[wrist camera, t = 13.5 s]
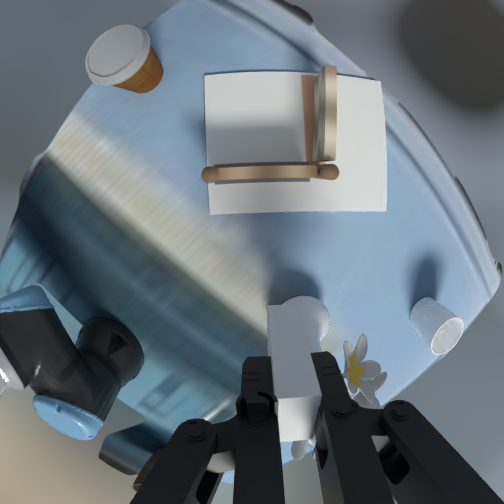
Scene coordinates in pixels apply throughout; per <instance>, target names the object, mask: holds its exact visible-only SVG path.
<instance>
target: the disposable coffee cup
mask: <svg viewBox="0 0 504 504" xmlns="http://www.w3.org/2000/svg"><path fill="white" fill-rule="evenodd" d="M85 67H86V71H87V73H88V75H89V78H90V79H91V80H92V81H93V82H94V83H96V84H98V85H101V86H110V85H111V86H115V87H119V88H123V89H126V90H130V91H133V92H136V93H145V92H148V91H150V90H152V89H154V88H155V87H156V86H157V85H158V84H159V82H160V81H161V79H162V76H163V68H162V66H161V64H160V62H159V60H158V58H157V56H156V54H155V52H154V50H153V48H152V46H151V45H150V38H149V35H148V33H147V32H146V30H144V29H143V28H141V27H139V26H135V25H129V24H124V25H118V26H115V27H113V28H111V29H109V30H107V31H106V32H104V33H103V34H102V35H100V36H99V37H98V38H97V39H96V40H95V42H94V43H93V44H92V46H91V48H90V49H89V51H88V53H87V56H86V61H85Z"/></svg>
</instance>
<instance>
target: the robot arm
mask: <svg viewBox="0 0 504 504" xmlns="http://www.w3.org/2000/svg"><path fill="white" fill-rule="evenodd" d="M267 322H268V356H262V357H247V359H246V360H245V362H244V363H243V364H242V382H241V395H240V396H239V397H238V398H237V401H236V409H237V414H236V415H235V416H234V417H233V418H231V419H230V420H228V421H225V422H221V423H217V424H211V423H210V422H208V421H206V420H204V419H196V418H195V419H190V420H187V421H185V422H183V423H181V424H180V425H179V426H178V428H177V429H176V431H175V432H174V434H173V436H172V437H171V439H170V441H169V442H168V444H167V445H166V447H165V449H164V450H163V452H162V453H161V455H160V457H159V458H158V460H157V462H156V463H155V465H154V466H153V468H152V469H151V471H150V473H149V474H148V476H147V477H146V479H145V481H144V482H143V484H142V485H141V487H140V488H139V490H138V491H137V493H136V495H135V496H134V498H133V499H132V501H131V502H130V504H211V502H212V499H213V497H214V495H215V492H216V490H217V488H218V485H219V483H220V481H221V479H222V476H223V474H224V472H226V471H230V470H235V475H234V493H233V504H285V496H284V483H283V471H282V458H281V446H280V442H287V441H298V440H308V439H313V436H314V434H315V439H316V444H315V448H314V452H313V458H312V459H315V457H316V461H317V466H318V472H319V477H320V484H321V490H322V496H323V502H324V504H395V503H394V500H393V497H394V499H395V500H396V501H397V503H398V504H504V502H503V501H502V500H501V499H500V498H499V496H498V495H497V494H496V493H495V492H494V491H493V490H492V489H491V488H490V487H489V486H488V484H487V483H486V482H485V481H484V480H483V479H482V478H481V477H480V476H479V475H478V474H477V472H476V471H475V470H474V469H473V468H472V467H471V466H470V465H469V464H468V463H467V462H466V461H465V460H464V458H463V457H462V456H461V455H460V454H459V453H458V452H457V451H456V450H455V449H454V448H453V447H452V446H451V445H450V444H449V443H448V441H446V439H445V438H444V437H443V436H442V435H441V434H440V433H439V432H438V431H437V430H436V429H435V428H434V427H433V426H432V425H431V423H430V422H429V421H428V420H427V419H426V418H425V417H424V416H423V415H422V414H421V413H420V412H419V411H418V410H417V409H416V408H415V407H414V406H413V405H412V404H411V403H409V402H407V401H403V400H395V401H392V402H389V403H388V404H387V405H386V406H385V407H384V409H370V408H364V407H361V406H359V404H358V403H357V402H356V401H354V400H353V399H351V397H350V395H349V392H348V390H347V387H346V384H345V382H344V379H343V377H342V374H341V371H340V369H339V367H338V364H337V361H336V359H335V357H334V356H333V355H331V354H330V353H329V352H328V351H325V352H315V353H310V350H309V347H308V343H307V340H306V336H305V333H304V330H303V326H302V323H301V319H300V316H299V313H298V309H297V306H296V304H287V305H267ZM143 364H144V354H143V351H142V348H141V346H140V344H139V342H138V341H137V339H136V338H135V337H134V335H133V334H132V333H131V332H130V331H129V330H128V329H126V328H125V327H124V326H122V325H121V324H119V323H117V322H116V321H113V320H111V319H108V318H102V317H97V318H93V319H90V320H89V321H88V322H87V323H86V324H85V325H84V326H83V327H82V328H81V330H80V332H79V335H78V339H77V341H76V344H75V345H74V343H73V342H72V340H71V338H70V337H69V335H68V333H67V331H66V330H65V328H64V326H63V325H62V323H61V321H60V319H59V317H58V315H57V314H56V312H55V310H54V306H53V305H51V303H50V301H49V299H48V298H47V296H46V294H45V292H44V291H43V289H42V288H41V287H40V286H37V285H31V286H28V287H26V288H23V289H21V290H18V291H16V292H14V293H12V294H9V295H7V296H5V297H3V298H1V299H0V397H1V396H2V395H3V394H4V393H5V392H6V391H7V390H8V389H9V388H14V389H19V390H23V389H24V388H25V387H26V386H27V385H28V384H29V386H30V387H31V388H32V390H33V391H34V392H35V394H36V395H35V396H34V397H33V402H32V404H33V406H34V408H35V410H36V412H37V413H38V414H39V415H40V416H41V417H42V418H43V419H44V420H45V421H46V422H47V423H49V424H50V425H51V426H53V427H54V428H55V429H57V430H59V431H60V432H62V433H64V434H66V435H68V436H70V437H73V438H76V439H80V440H90V439H93V438H94V437H95V436H96V434H97V433H98V431H99V430H100V428H101V427H102V426H103V424H104V421H105V419H106V417H107V414H108V413H109V411H110V408H111V406H112V405H113V403H114V401H115V399H116V397H117V395H118V393H119V391H120V389H121V388H122V387H123V386H125V385H126V384H127V383H128V382H129V381H130V380H132V379H134V378H135V377H136V376H137V375H138V374H139V372H140V370H141V368H142V367H143ZM392 496H393V497H392Z"/></svg>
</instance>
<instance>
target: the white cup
mask: <svg viewBox="0 0 504 504" xmlns="http://www.w3.org/2000/svg"><path fill="white" fill-rule="evenodd" d="M410 321H411V323H412V325H413V326H414V327H415V329H416V331H417V332H418V333H419V335H420V336H421V338H422V339H423V340H424V342H425V343H426V344H427V346H428V347H429V348H430V350H431V351H432V352H433V353H434V354H436V355H441V354H444V353H446V352H448V351H449V350H450V349H452V348H453V347H454V346H455V345H456V343H457V342H458V340H459V339H460V337H461V335H462V332H463V327H464V324H463V321H462V319H461V318H460V317H458V316H457V315H456V314H454V313H453V312H452V311H450V310H449V309H448V308H446V307H445V306H443V305H442V304H440V303H438V302H436V301H435V300H434V299H432V298H431V297H424V298H422V299H421V300H419V301H418V302H417V303H416V304H415V305H414V306H413V308H412V310H411V313H410Z"/></svg>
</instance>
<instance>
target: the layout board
mask: <svg viewBox="0 0 504 504" xmlns="http://www.w3.org/2000/svg"><path fill="white" fill-rule="evenodd" d="M318 74H319V73H305V72H240V73H225V74H214V75H205V125H206V152H207V167H209V166H212V167H219V168H228V167H248V166H290V165H305V166H314V165H322V164H335V165H336V166H337V167H338V169H339V176H338V178H337V179H335V180H325V179H316V178H258V179H234V180H222V181H218V182H214V183H208V192H209V208H210V215H219V214H240V213H268V212H312V211H379V212H386V203H387V151H386V131H385V117H384V106H383V97H382V89H381V82H380V81H375V80H369V79H363V78H356V77H349V76H341V75H337V135H336V160H335V161H329V162H313V161H312V152H313V125H314V80H315V79H316V77H317V76H318Z"/></svg>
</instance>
